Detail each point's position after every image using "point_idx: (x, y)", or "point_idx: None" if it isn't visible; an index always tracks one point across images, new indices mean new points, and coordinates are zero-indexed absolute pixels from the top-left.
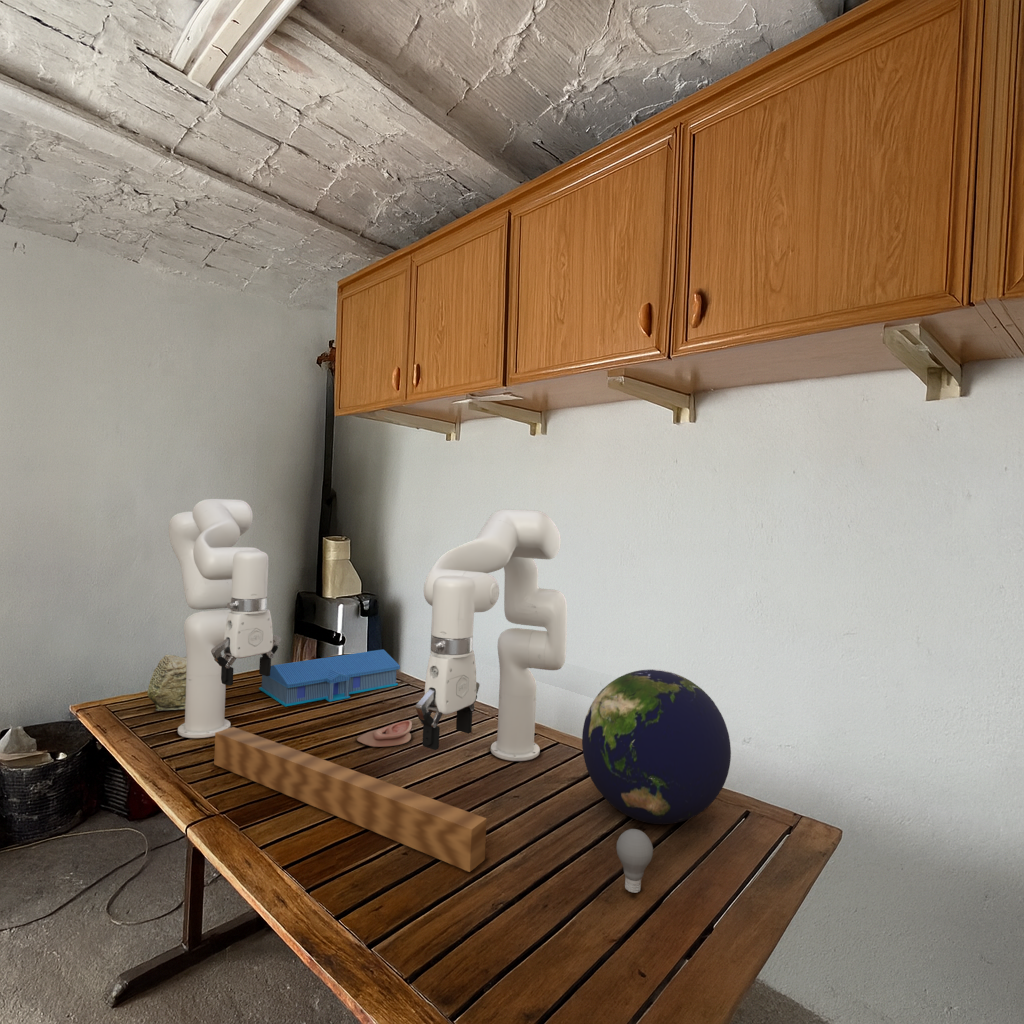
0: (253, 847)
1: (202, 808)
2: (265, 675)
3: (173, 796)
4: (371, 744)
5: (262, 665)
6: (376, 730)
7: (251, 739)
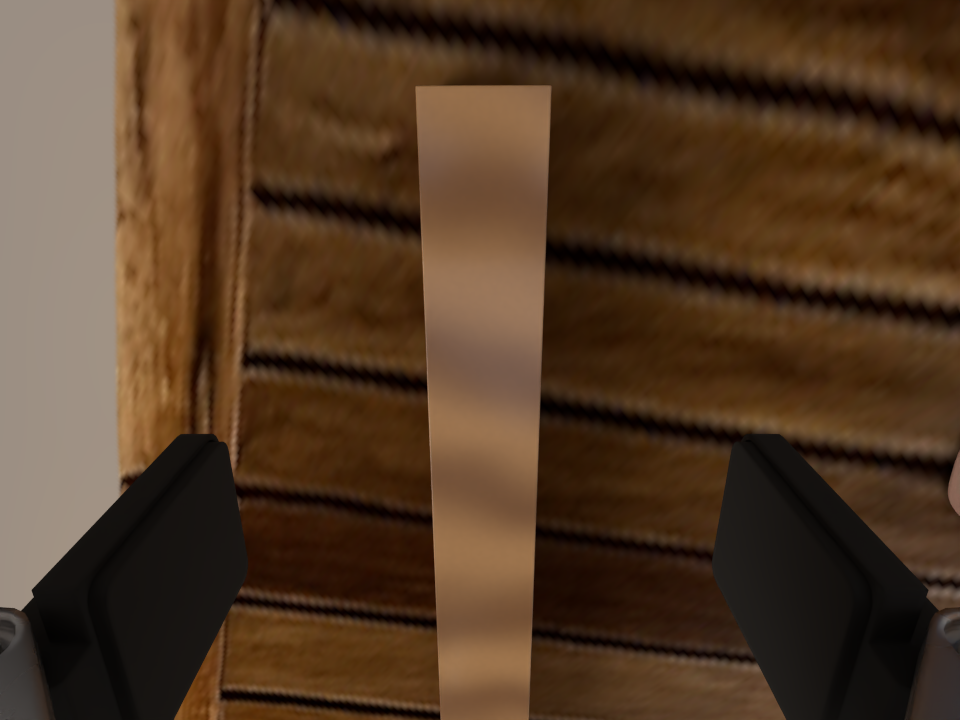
0: (209, 682)
1: (201, 420)
2: (715, 545)
3: (158, 257)
4: (955, 491)
5: (779, 572)
6: None
7: (485, 355)
